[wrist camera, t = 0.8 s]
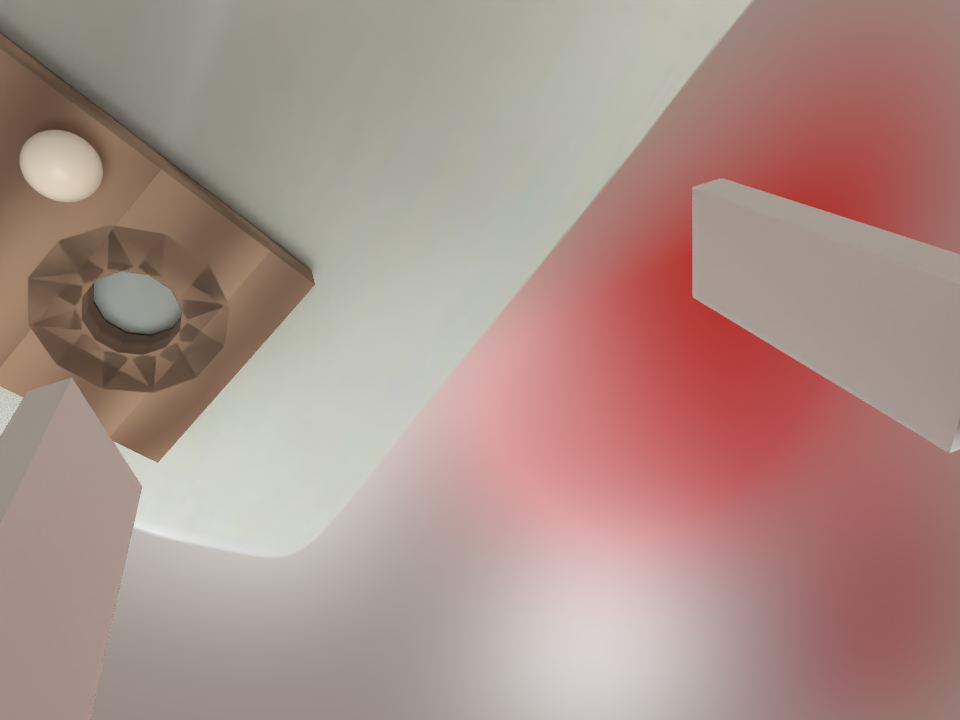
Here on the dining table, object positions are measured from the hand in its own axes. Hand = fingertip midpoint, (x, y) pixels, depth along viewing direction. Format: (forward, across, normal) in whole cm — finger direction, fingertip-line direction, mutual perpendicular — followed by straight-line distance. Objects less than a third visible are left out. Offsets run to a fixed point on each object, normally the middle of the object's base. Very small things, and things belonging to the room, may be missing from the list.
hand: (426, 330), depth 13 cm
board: (+24, -14, -2) cm, 28 cm away
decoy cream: (+20, -11, +2) cm, 23 cm away
